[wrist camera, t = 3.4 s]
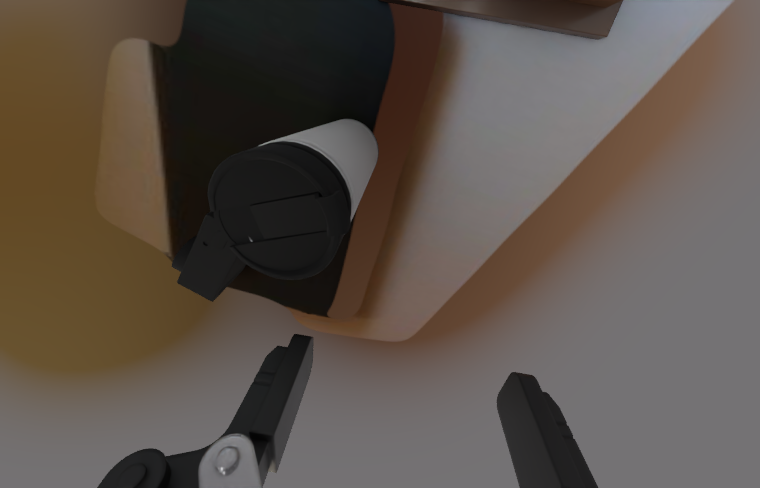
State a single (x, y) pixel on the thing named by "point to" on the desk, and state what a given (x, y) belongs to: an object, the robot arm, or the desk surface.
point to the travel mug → (293, 197)
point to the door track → (534, 13)
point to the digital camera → (207, 261)
